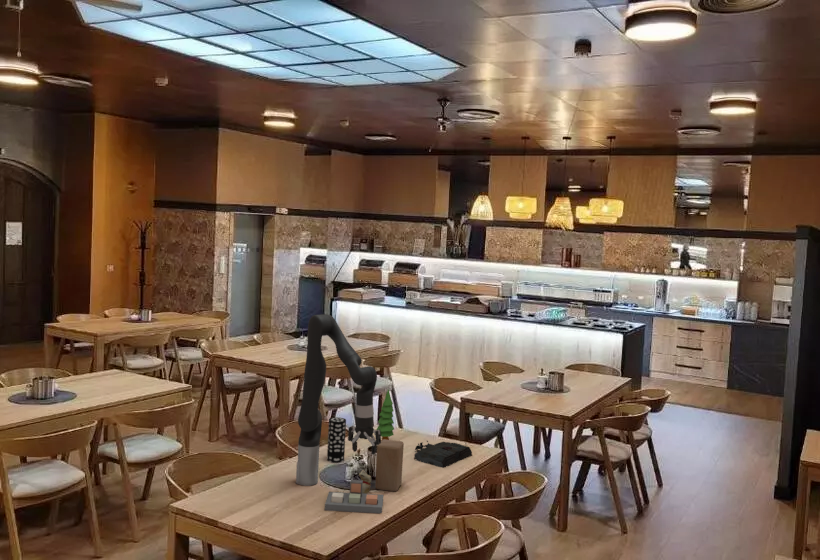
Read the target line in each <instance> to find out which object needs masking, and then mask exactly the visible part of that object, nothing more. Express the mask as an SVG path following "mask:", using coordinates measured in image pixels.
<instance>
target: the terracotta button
mask: <svg viewBox="0 0 820 560" xmlns="http://www.w3.org/2000/svg"><path fill="white" fill-rule="evenodd" d="M368 494H369V493H367V496H366V504H371V505H377V496H378V495H368Z"/></svg>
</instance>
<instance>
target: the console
mask: <svg viewBox="0 0 820 560" xmlns="http://www.w3.org/2000/svg"><path fill="white" fill-rule="evenodd" d="M362 486H363V480H361V479H350V482H349V492H344V491H343V492H342V491H328V493H327V497H326V500H325V502H324V511H330V512H331V511H332V512H345V513H346V512H349V513H365V514H380V513H382V514H383V506H384V494H381V493H380V494H379V493H377V494H376V493H367V494H368V495H378V496H377V505H371V504H366V496H367V494H363V493H362ZM333 492H334V493H344V495H343V503H336V502H331V500H332V494H333ZM350 493H351V494H361V495H360V504H353V503H349V495H350Z"/></svg>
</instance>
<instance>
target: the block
mask: <svg viewBox="0 0 820 560" xmlns="http://www.w3.org/2000/svg"><path fill="white" fill-rule="evenodd" d="M381 440H382V439H381ZM404 445H405V443H404V442H403V441H401V440H391V439H389V440H386V439H384V440H382V441H381V443H380V444H379V445H377V446H376V468H375V469H376V470H375V485H374V487H375V489H376V490H381V491H391V492H397V491H398V490H399V488H400V487H401V485H402V481H403V480H402V477H403V463H404V462H403V461H404Z"/></svg>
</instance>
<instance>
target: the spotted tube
mask: <svg viewBox="0 0 820 560" xmlns="http://www.w3.org/2000/svg"><path fill="white" fill-rule="evenodd" d="M327 429H328V430H327V431H328V432H327V449H326V450H327V451H326V452H327V453H326V456H327V457H326V461H327V462H329V463H334V464H339V463H344V461H345V451H346V449H345V448H346V431H347V430H346V429H347V419H346V418H343V417H331V418H328V428H327Z"/></svg>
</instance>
